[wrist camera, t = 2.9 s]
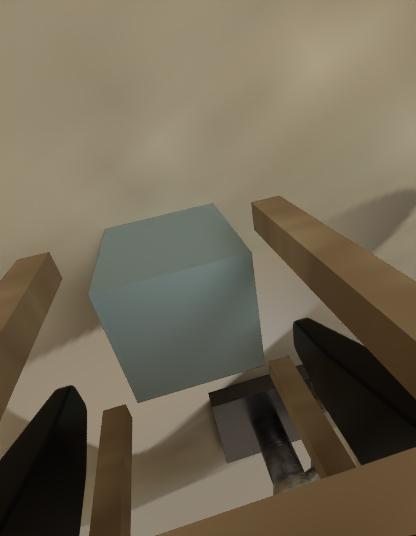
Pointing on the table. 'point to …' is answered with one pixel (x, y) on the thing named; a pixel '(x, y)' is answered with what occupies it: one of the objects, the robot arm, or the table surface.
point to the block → (177, 301)
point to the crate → (285, 380)
